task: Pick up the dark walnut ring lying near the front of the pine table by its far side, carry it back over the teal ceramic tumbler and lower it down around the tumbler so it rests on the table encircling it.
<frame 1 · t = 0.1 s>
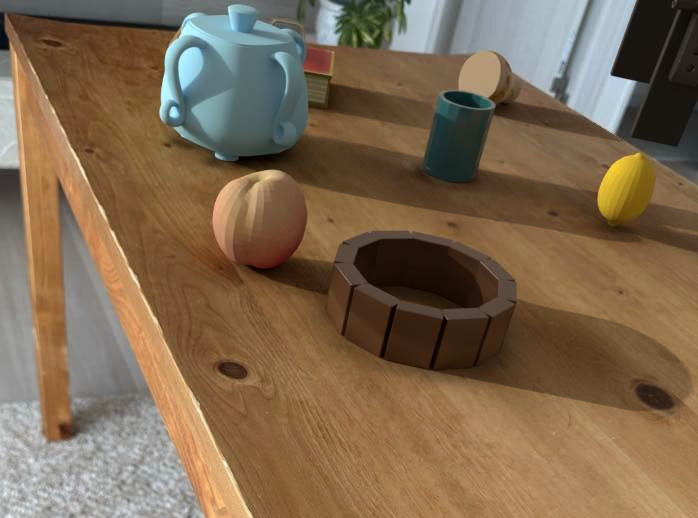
hand: (640, 107, 56), 21 cm above the table, tool pointing down, fingers open, 13 cm apart
decorative pot: (230, 144, 100), on the table
fruit: (254, 264, 79), on the table
lemon: (610, 227, 98), on the table
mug: (486, 105, 126), on the table
tumbler: (448, 171, 103), on the table
hardcover book: (251, 82, 117), on the table
ring: (413, 320, 75), on the table
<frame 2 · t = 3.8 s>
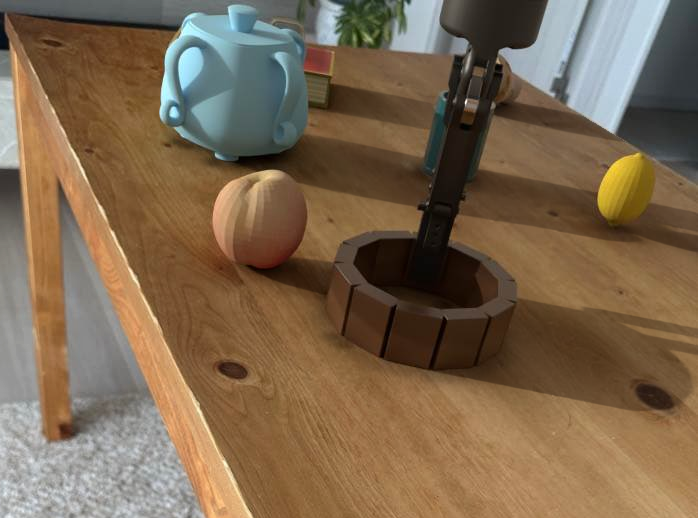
hand: (422, 275, 79), 1 cm above the table, tool pointing down, fingers closed on ring, 2 cm apart
ring: (413, 320, 75), on the table, touching gripper
everything else where it was.
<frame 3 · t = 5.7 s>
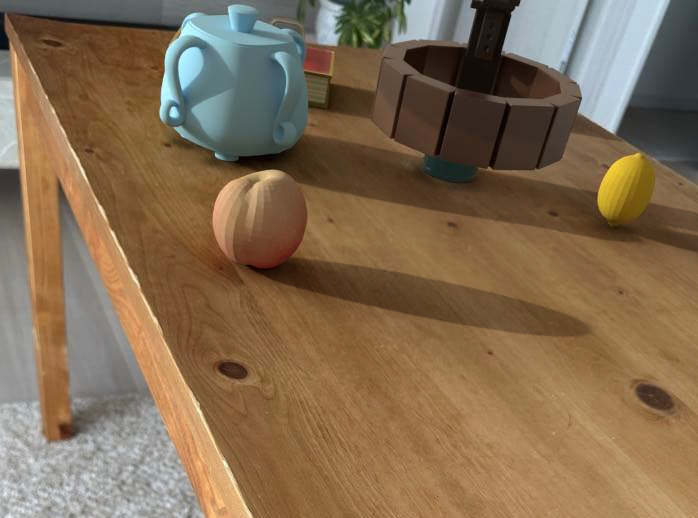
hand: (471, 95, 74), 15 cm above the table, tool pointing down, fingers closed on ring, 2 cm apart
ring: (466, 132, 69), point 14 cm above the table, touching gripper
everything else where it was.
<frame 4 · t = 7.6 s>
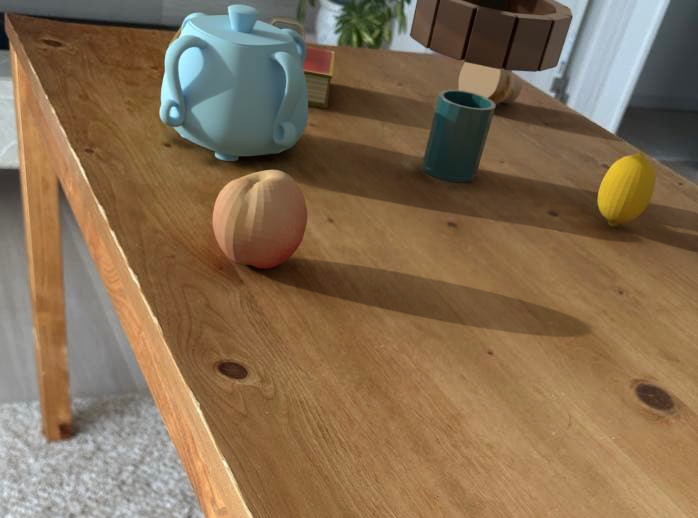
hand: (486, 21, 94), 15 cm above the table, tool pointing down, fingers closed on ring, 2 cm apart
ring: (483, 46, 90), point 14 cm above the table, touching gripper
everything else where it was.
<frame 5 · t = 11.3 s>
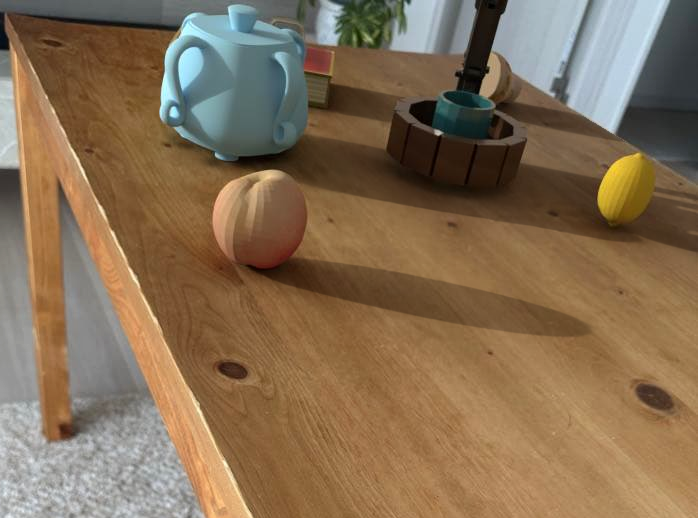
hand: (456, 133, 106), 2 cm above the table, tool pointing down, fingers closed on ring, 2 cm apart
ring: (450, 159, 102), point 1 cm above the table, touching gripper
everything else where it was.
when the fingers open (2 cm above the table, at t = 11.6 s): ring drops 1 cm, on the table.
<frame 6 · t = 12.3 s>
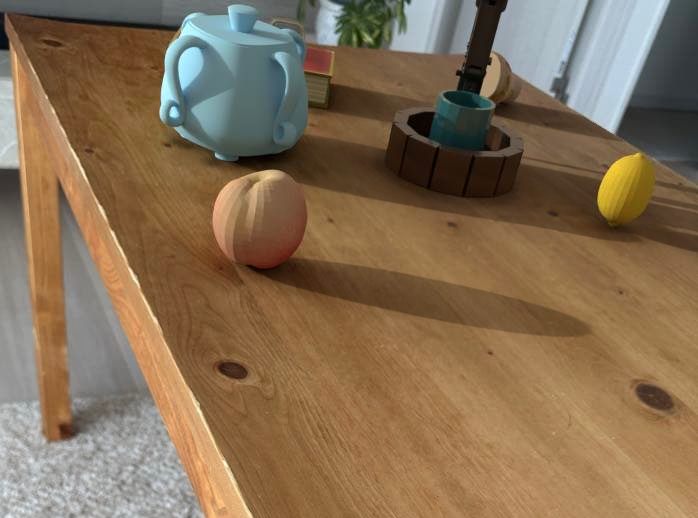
hand: (458, 127, 107), 3 cm above the table, tool pointing down, fingers open, 4 cm apart
ring: (448, 170, 103), on the table
everything else where it was.
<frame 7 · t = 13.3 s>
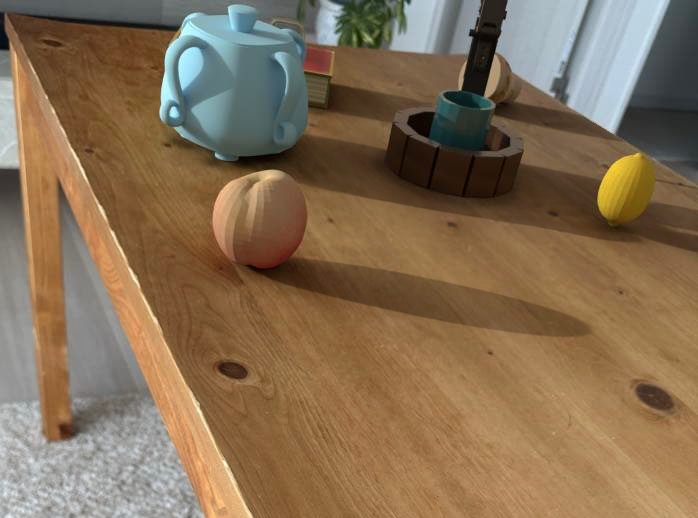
hand: (472, 89, 104), 7 cm above the table, tool pointing down, fingers open, 8 cm apart
nothing on the table moved.
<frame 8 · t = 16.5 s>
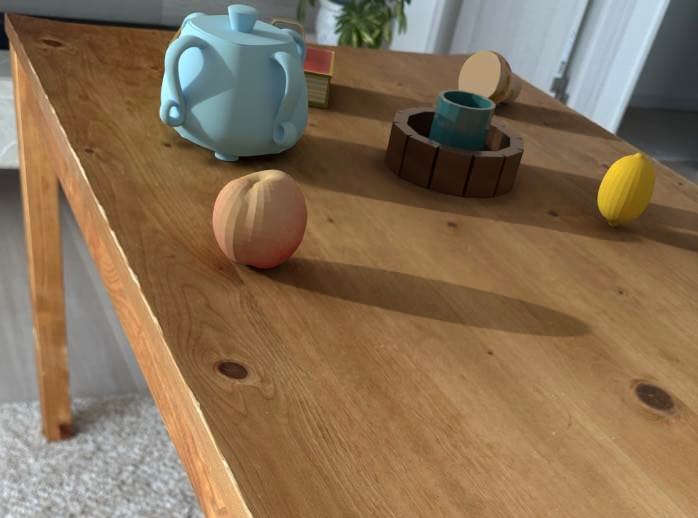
nothing on the table moved.
at the end: ring 0.5 cm from the tumbler (horizontally); ring on the table; the gripper is holding nothing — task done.
